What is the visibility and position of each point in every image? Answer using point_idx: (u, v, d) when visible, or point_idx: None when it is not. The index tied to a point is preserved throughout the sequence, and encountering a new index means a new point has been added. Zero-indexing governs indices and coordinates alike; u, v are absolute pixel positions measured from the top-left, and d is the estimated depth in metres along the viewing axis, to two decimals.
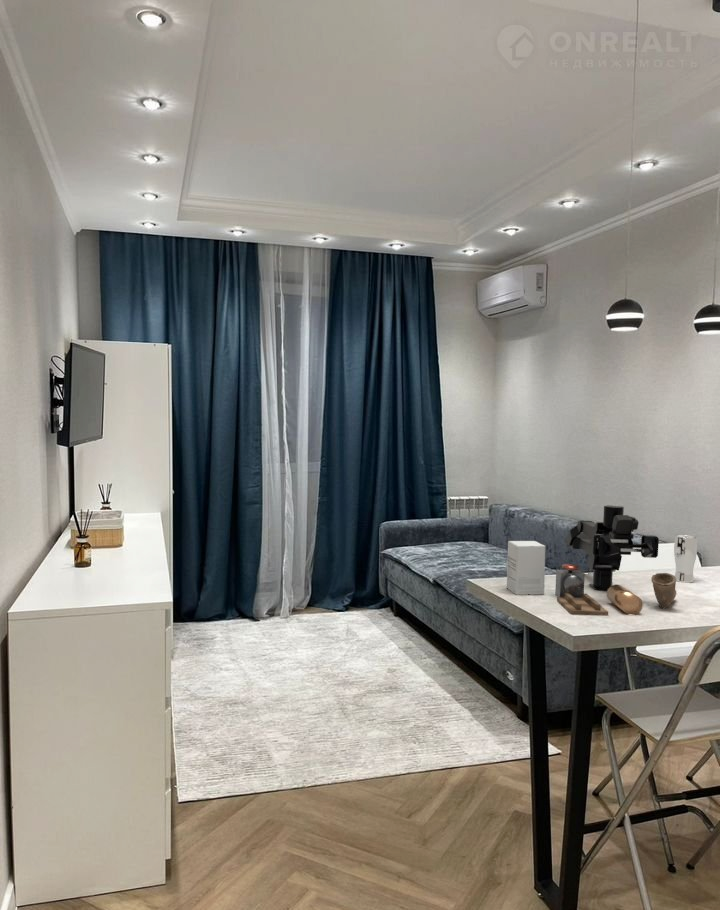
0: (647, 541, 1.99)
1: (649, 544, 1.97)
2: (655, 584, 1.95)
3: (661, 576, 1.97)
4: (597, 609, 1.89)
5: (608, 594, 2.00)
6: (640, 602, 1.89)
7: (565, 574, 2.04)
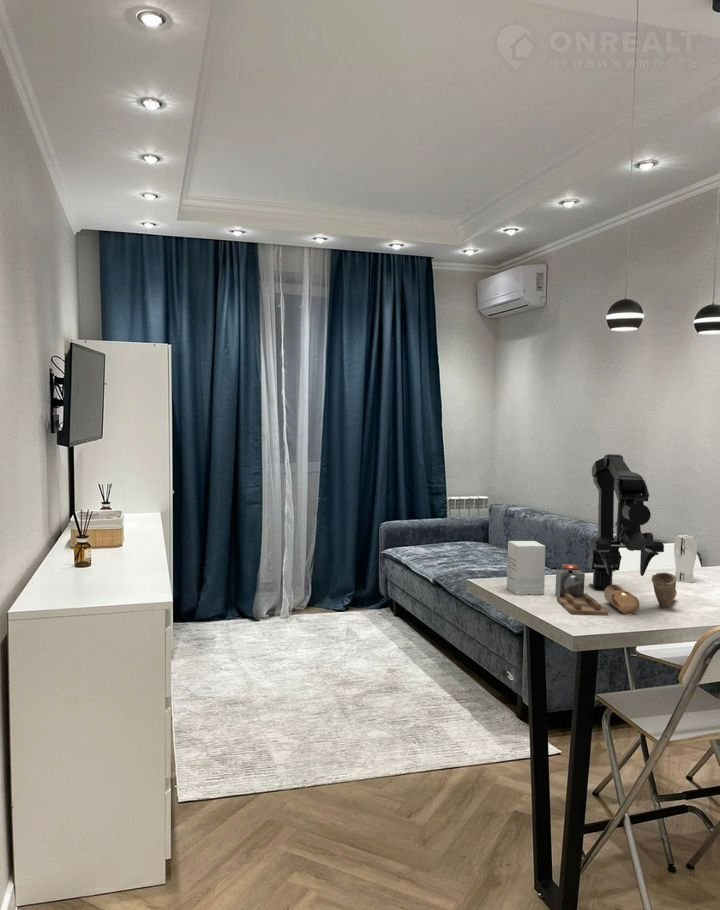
0: (648, 557, 1.93)
1: (647, 562, 1.93)
2: (655, 584, 1.95)
3: (661, 576, 1.97)
4: (597, 609, 1.89)
5: (605, 597, 2.00)
6: (636, 600, 1.89)
7: (565, 574, 2.04)
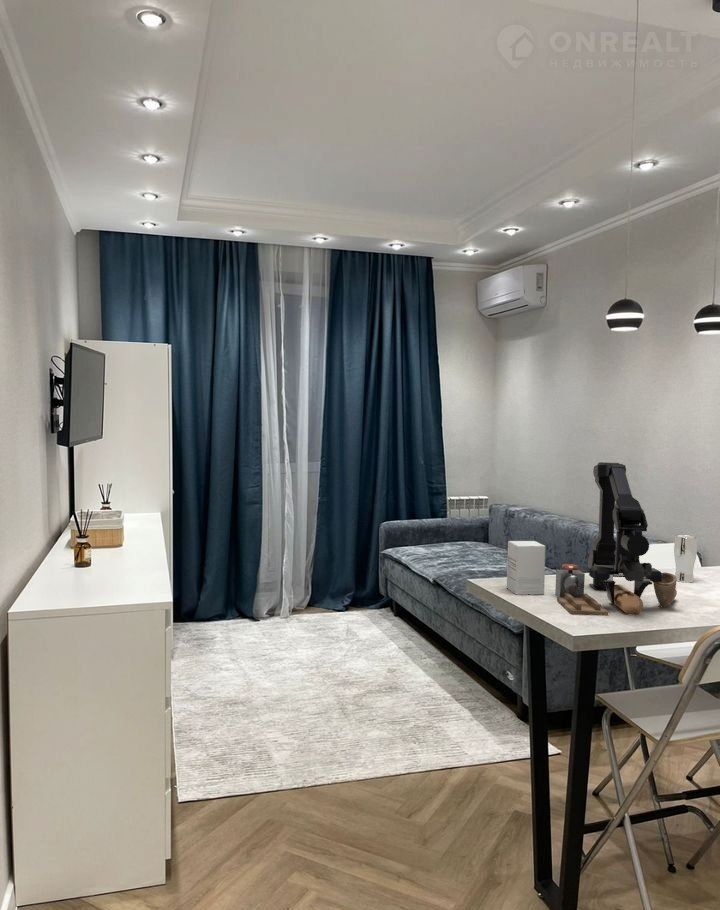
0: (642, 586, 1.93)
1: (641, 591, 1.94)
2: (656, 584, 1.95)
3: None
4: (597, 609, 1.89)
5: None
6: (640, 602, 1.89)
7: (565, 574, 2.04)
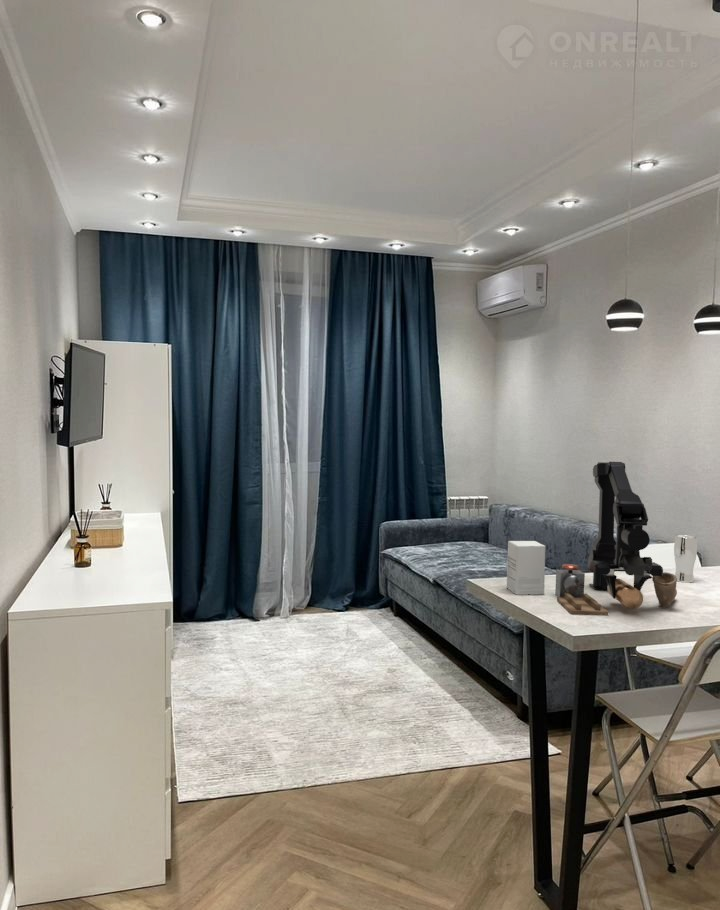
0: (641, 580, 1.93)
1: (640, 585, 1.94)
2: (656, 583, 1.95)
3: (662, 576, 1.98)
4: (597, 609, 1.89)
5: (608, 588, 2.00)
6: (641, 596, 1.89)
7: (565, 574, 2.04)
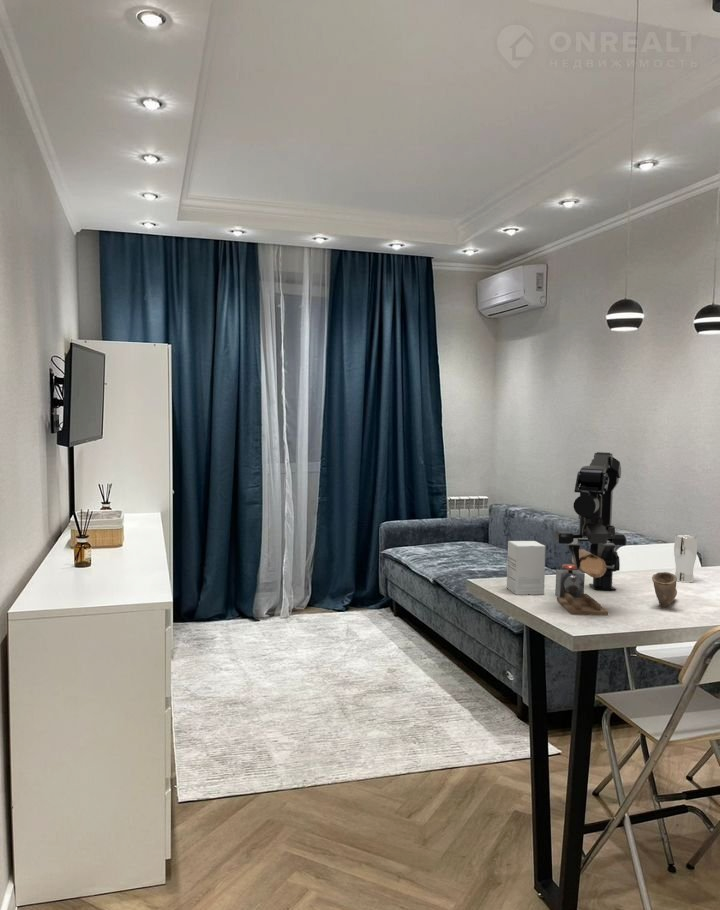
0: (605, 550, 1.92)
1: (604, 555, 1.93)
2: (656, 583, 1.96)
3: (662, 576, 1.98)
4: (597, 609, 1.89)
5: (573, 559, 1.99)
6: (604, 565, 1.88)
7: (565, 574, 2.04)
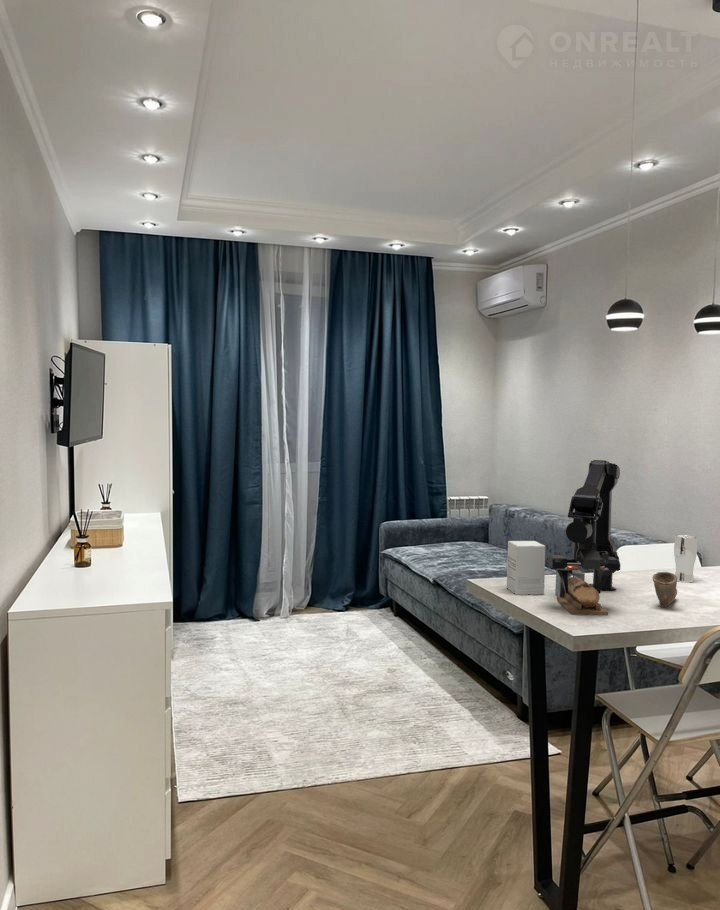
0: (604, 575, 1.93)
1: (603, 580, 1.93)
2: (656, 583, 1.96)
3: (662, 575, 1.99)
4: (597, 609, 1.89)
5: None
6: (597, 594, 1.89)
7: None
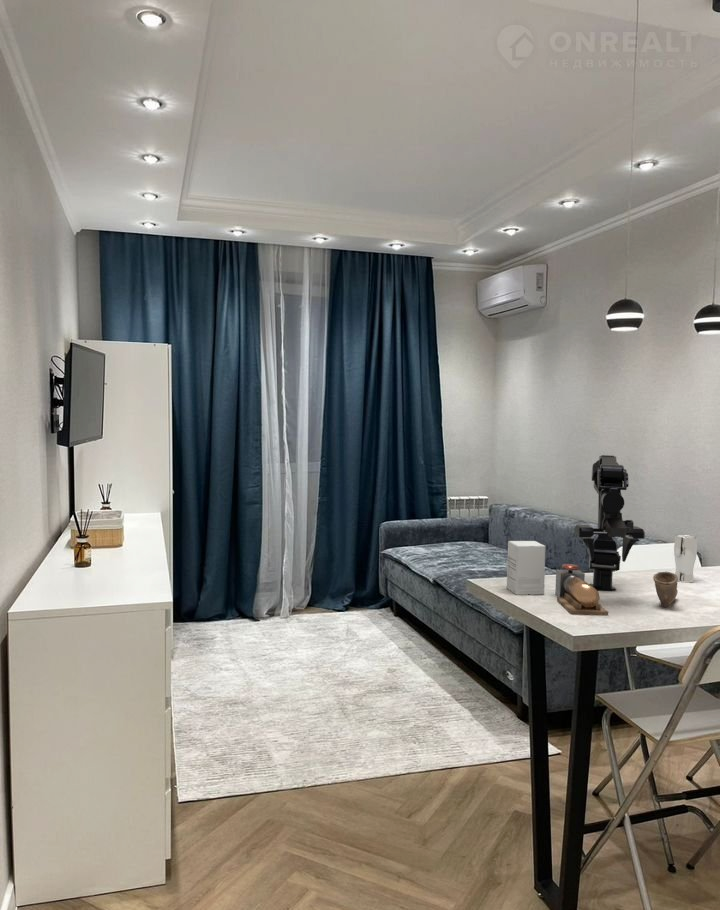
0: (629, 543, 2.00)
1: (628, 548, 2.01)
2: (657, 583, 1.96)
3: (663, 575, 1.99)
4: (597, 609, 1.89)
5: (567, 587, 1.99)
6: (597, 594, 1.89)
7: (565, 574, 2.04)
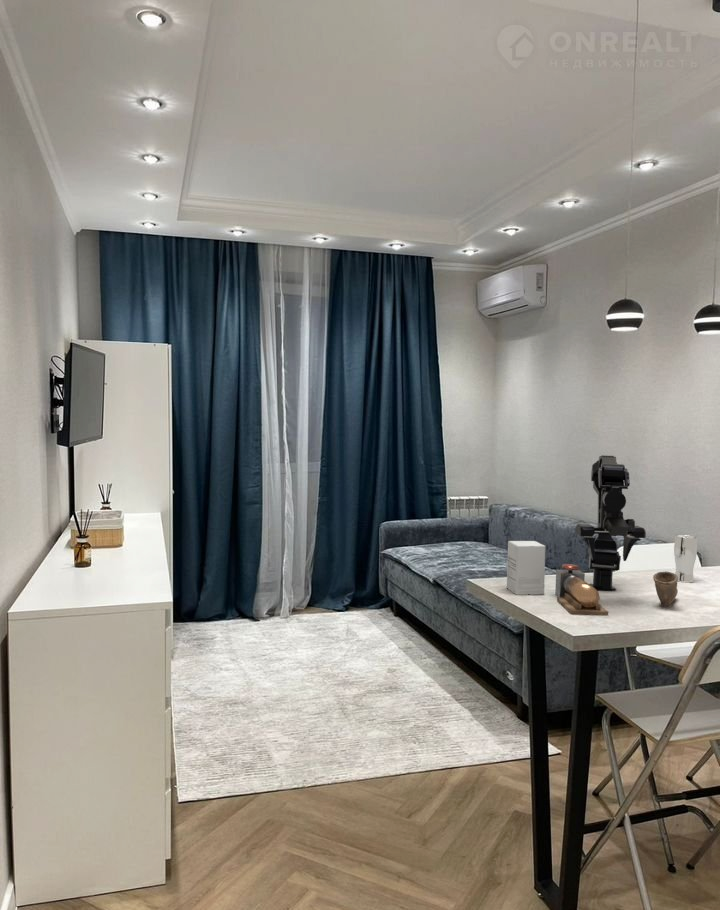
0: (630, 542, 2.00)
1: (629, 547, 2.01)
2: (657, 583, 1.96)
3: (663, 575, 1.99)
4: (597, 609, 1.89)
5: (567, 587, 1.99)
6: (597, 594, 1.89)
7: (565, 574, 2.04)
